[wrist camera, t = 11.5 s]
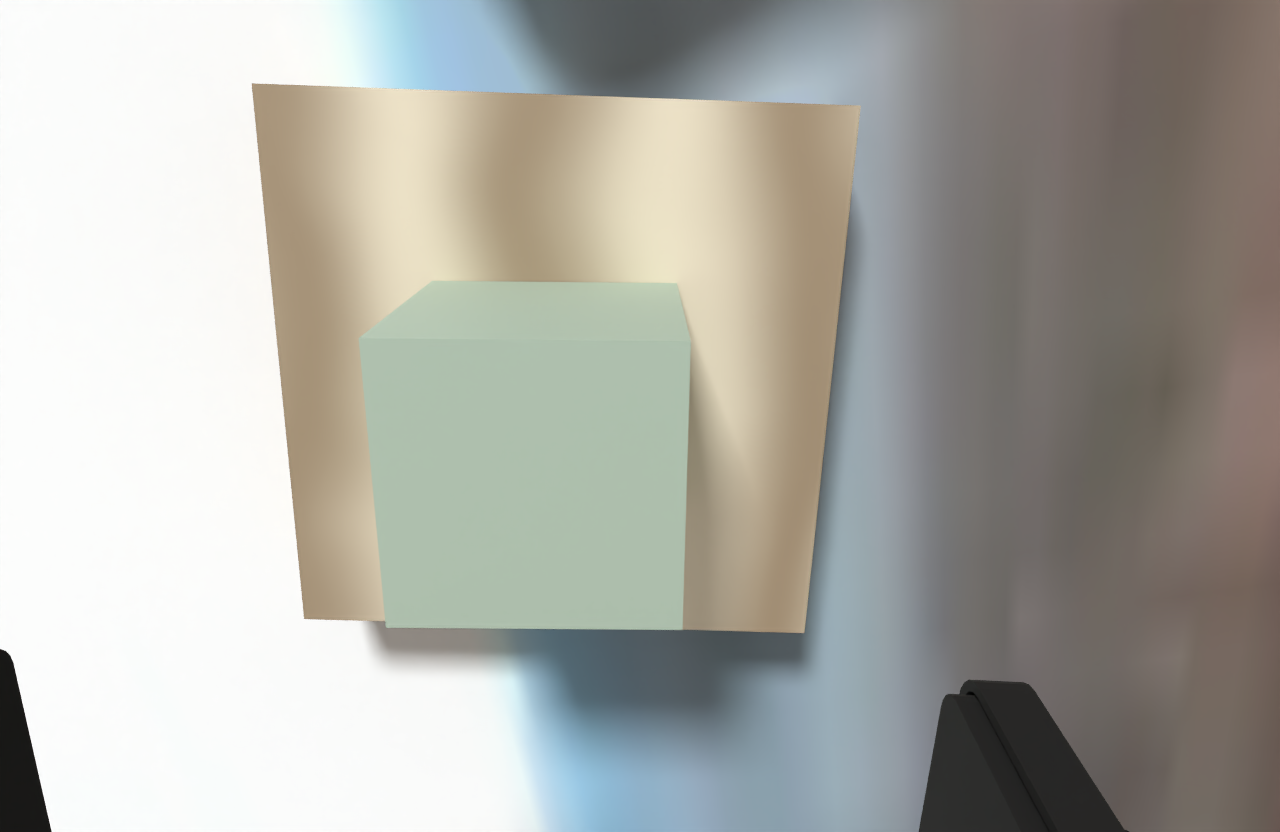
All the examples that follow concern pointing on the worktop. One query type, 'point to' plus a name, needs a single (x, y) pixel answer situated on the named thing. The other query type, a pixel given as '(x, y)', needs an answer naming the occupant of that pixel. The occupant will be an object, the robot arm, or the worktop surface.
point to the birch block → (568, 252)
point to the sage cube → (530, 455)
